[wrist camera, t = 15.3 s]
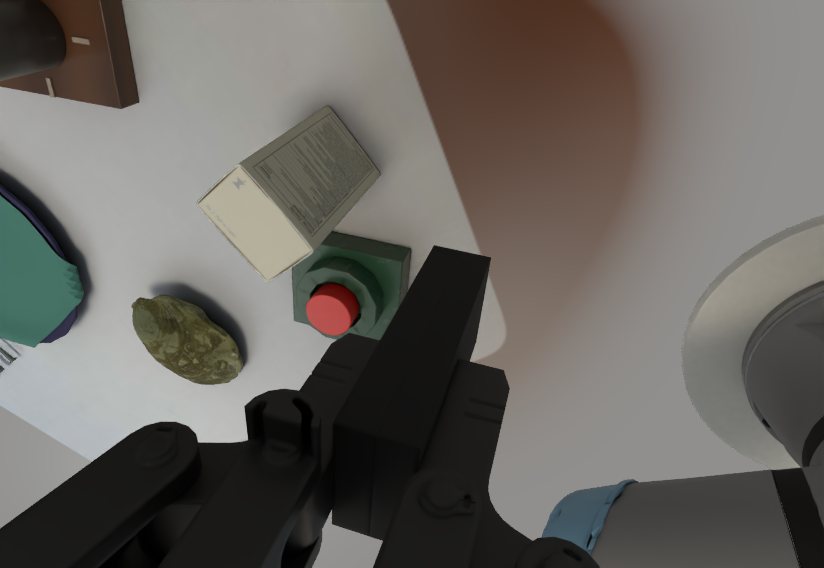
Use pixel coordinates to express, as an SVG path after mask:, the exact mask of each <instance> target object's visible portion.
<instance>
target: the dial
mask: <svg viewBox="0 0 824 568" xmlns="http://www.w3.org/2000/svg"><path fill="white" fill-rule="evenodd" d="M65 51H66V45H65V38H64V34H63V31H62V29H61V27H60V25H59V23H58V21H57V19H56V18H55V16H54V15H53V14H52V12H51V11H50V10H49V9H48V8H47V7H46V6H45V5H43V4H42V3H41V2H39V1H37V0H0V81H3V80H7V79H11V78H15V77H19V76H24V75H28V74H32V73H36V72H40V71H44V70H48V69H52V68H55V67H57V66H58V65H60V64H61V62H62V61H63V59H64V56H65Z"/></svg>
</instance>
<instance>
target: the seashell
mask: <svg viewBox="0 0 824 568" xmlns="http://www.w3.org/2000/svg"><path fill="white" fill-rule="evenodd" d="M132 308H133V325H134V328H135V331H136V333H137V335H138V337H139V338H140V340H141V341H142V343H143V344H144V345H145V347H146V349H147V350H148V351H149V353H150V354H151V355H152V356H153V357H154V358H155V359H156V360H157V361H158V362H159V363H161V364H162V365H163V366H165V367H166V368H168V369H169V370H171V371H172V372H174V373H176V374H177V375H179V376H181V377H183V378H185V379H188V380H190V381H192V382H194V383H198V384H206V385H207V384H208V385H214V384H220V383H228V382H230V381H231V380H232V379H234V378H235V377H237V376H238V373H239V372H240V370H241V369H243V361H242V356H241V355H240V354H239V351H238V350H239V348H238V346H237V344H236V342H235V341H234V340H233V339H232V338H231V337H230V336H229V335H228V334H227V333H226V332H225V331H224V329H222V328H221V327H219V326H217V325H215V324H214V323H213V322H212V321H210V320H209V319H208V317H207V316H206V314H205V312H204V311H203V310H202V309H201V308H199V307H197V306H196V305H194V304H191V303H188V302H185V301H183V300H179V299H177V298H174V297H170V296H166V295H160V296H157V297H154V298H153V299H145V298H141V297H140V298H138V299H137V300H136V302H134V303H133V304H132Z"/></svg>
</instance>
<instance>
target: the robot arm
mask: <svg viewBox="0 0 824 568" xmlns="http://www.w3.org/2000/svg"><path fill="white" fill-rule="evenodd" d="M490 260H491V257H486V256H481V255H477V254H472V253H467V252H463V251H458V250H453V249H449V248H444V247H439V246H435V245H434V246H433V248H432V250H431V252H430V253H429V255H428V257H427V259H426V260H425V262H424V264H423V266H422V267H421V269H420V271H419V273H418V274H417V276H416V278H415V280H414V281H413V283H412V285H411V287H410V288H409V290H408V292H407V294H406V296H405V297H404V299H403V301H402V303H401V304H400V306H399V308H398V310H397V311H396V313H395V315H394V317H393V318H392V320H391V322H390V324H389V325H388V327H387V329H386V331H385V332H384V334H383V336H382V338H381V339H380V340H376V339H372V338H369V337H365V336H361V335H357V334H353V333H348V334H346V335H344V336H343V337H341V338H340V339H338V340H337V341H335V342H333V343H332V344H331V345H330V347H329V348H328V349H327V351H326V352H325V354H324V355H323V357H322V358H321V361H320V362H319V363H318V364H317V366H316V367H315V369H314V370H313V371H312V375H310V376H309V377H308V379H307V380H306V382H305V383H304V385H303V386H302V388H301V389H300V390H299V391H297V390H289V389H279V390H272V391H268V392H265V393H263V394H261V395H259V396H256V397H255V398H253V399H252V400H251V401H250V402H249V403H248V404H247V405H246V406H245V415H246V424H247V433H248V440H247V441H243V442H235V443H198V441H197V436H196V434H195V433H194V432H193V431H192V430H191V429H190V428H189V427H188V426H186V425H183V424H180V423H177V422H158V423H154V424H150V425H147V426H144V427H142V428H140V429H139V430H137V431H135V432H133V433H131V434H130V435H128V436H127V437H126V438H124V439H123V440H122V441H120V442H119V443H117V444H116V445H115V446H113V447H112V448H111V449H109V450H108V451H106V452H105V453H104V454H102V455H101V456H100V457H98V458H97V459H95V460H94V461H93V462H91V463H90V464H89V465H87V466H86V467H84V468H83V469H82V470H80V471H79V472H78V473H76V474H75V475H73V476H72V477H71V478H69V479H68V480H67V481H65V482H64V483H62V484H61V485H60V486H58V487H57V488H56V489H54V490H53V491H51V492H50V493H49V494H47V495H46V496H44V497H43V498H42V499H40V500H39V501H38V502H36V503H35V504H33V505H32V506H31V507H29V508H28V509H27V510H25V511H24V512H22V513H21V514H20V515H18V516H17V517H16V518H14V519H13V520H11V521H10V522H9V523H7V524H6V525H5V526H3V527H2V528H1V529H0V568H312V566H313V564H314V562H315V560H316V557H317V555H318V553H319V551H320V547H321V542H322V528H323V526H324V524H325V522H326V520H327V518H328V516H329V513H330V512H331V510H332V524H333V525H336V526H339V527H342V528H345V529H348V530H352V531H355V532H358V533H361V534H364V535H367V536H370V537H373V538H376V539H379V540H382V541H383V543H382V545H381V548H380V551H379V554H378V556H377V559H376V561H375V564H374V566H373V568H824V280H823V281H820V282H818V283H816V284H813V285H811V286H809V287H806V288H805V289H803V290H801V291H799V292H797V293H795V294H794V295H792V296H790V297H789V298H787V299H786V300H784V301H783V302H781V303H780V304H779V305H778V306H776V307H775V308H774V309H773V310H772V311H770V312H769V313H768V314H767V315H766V316H765V317H764V318H763V320H762V321H761V322H760V323H759V324H758V326H757V327H756V328H755V330H754V331H753V333H752V334H751V336H750V338H749V340H748V342H747V344H746V347H745V350H744V353H743V358H742V379H743V383H744V387H745V390H746V394H747V397H748V401H749V403H750V406H751V408H752V410H753V412H754V413H755V415H756V417H757V418H758V419H759V421H760V422H761V424H762V425H763V426H764V427H765V429H766V430H767V431H768V432H769V433H770V434H771V435H772V436H773V437H774V438H775V439H776V440H777V441H779V442H780V443H781V444H783V445H784V447H785V449H786V451H787V452H788V453H789V455H790V456H791V457H792V458H793V460H794V461H795V462H796V463H797V464H798V465H799V466H800V467H801V468H790V469H780V470H763V471H754V472H744V473H735V474H725V475H716V476H706V477H697V478H687V479H675V480H663V481H651V482H640V483H639V482H637V481H635V480H634V479H631V480H624V481H622V482H620V483H619V484H617V485H610V486H604V487H597V488H590V489H584V490H579V491H575V492H573V493H571V494H569V495H567V496H566V497H564V498H563V499H562V500H561V501H560V502H559V503H558V504H557V505H556V507H555V508H554V510H553V511H552V513H551V514H550V517H549V520H548V522H547V525H546V527H545V529H544V531H543V534H542V538H537V539H536V540H534V541H532V540H530V539H529V538H527V537H526V536H524V535H523V534H521V533H520V532H518V531H517V530H515V529H514V528H512V527H511V526H510V525H509V524H507V523H506V522H505V521H504V520H503V519H502V518H501V517H500V516H499V514H498V513H497V512H496V511H495V509H494V507H493V505H492V503H491V501H490V496H489V492H488V485H489V477H490V473H491V468H492V464H493V460H494V455H495V451H496V446H497V442H498V438H499V433H500V429H501V424H502V420H503V415H504V411H505V407H506V402H507V398H508V393H509V389H510V388H509V385H508V382H507V379H506V376H505V373H504V370H501V369H497V368H493V367H489V366H485V365H481V364H477V363H473V362H469V361H470V358H471V355H472V352H473V349H474V346H475V343H476V339H477V334H478V328H479V322H480V317H481V311H482V306H483V300H484V294H485V289H486V283H487V278H488V272H489V266H490ZM778 493H779V494H778ZM779 496H780V497H779ZM781 503H782V504H781ZM782 506H783V507H782ZM783 509H784V510H783ZM784 513H785V514H784ZM785 516H786V517H785ZM786 519H787V520H786ZM787 522H788V524H787ZM788 525H789V527H788ZM789 529H790V530H789ZM790 532H791V534H790ZM791 535H792V537H791ZM792 539H793V540H792ZM793 542H794V544H793ZM794 546H795V547H794ZM795 549H796V550H795ZM796 552H797V554H796ZM797 556H798V557H797ZM798 559H799V560H798ZM799 563H800V564H799ZM800 566H801V567H800Z"/></svg>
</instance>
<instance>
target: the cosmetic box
mask: <svg viewBox="0 0 824 568" xmlns="http://www.w3.org/2000/svg"><path fill="white" fill-rule="evenodd" d="M379 176H380V173H379V171H378V170H377V168H376V167H375V166H374V164H373V163H372V162H371V160H370V159H369V157H368V156H367V155H366V154H365V152H364V151H363V149H362V148H361V147H360V146H359V144H358V143H357V142H356V140H355V139H354V138H353V136H352V135H351V134H350V132H349V131H348V130H347V129H346V127H345V126H344V125H343V123H342V122H341V121H340V120H339V118H338V117H337V116H336V115H335V113H334V112H333V111H332V110H331V109H330V107H329V106H325V107H324V108H322V109H321V110H319V111H318V112H316V113H315V114H313V115H312V116H310V117H309V118H307V119H306V120H304V121H303V122H301V123H299V124H298V125H296V126H295V127H293V128H292V129H290V130H289V131H287V132H286V133H284V134H283V135H281V136H280V137H278V138H277V139H275V140H274V141H272V142H271V143H269V144H268V145H266V146H264V147H263V148H261V149H260V150H258V151H257V152H255V153H254V154H252V155H251V156H249V157H248V158H246V159H245V160H243V161H242V162H240V163H239V164H237V165H236V166H235V167H234V168H233V169H232V170H230V171H229V172H228V173H227V174H226V175H225V176H223V177H222V178H221V179H220V180H219V181H218V182H217V183H216V184H214V185H213V186H212V187H211V188H210V189H209V190H208V191H207V192H206V193H205V194H204V195H203V196H202V197H201V198H200V199H199V200H198V201H197V203H196V204H197V206H198V207H199V209H200V210H201V211H202V212H203V213H204V214H205V215H206V217H207V218H208V219H209V220H210V221H211V223H212V224H213V225H214V226H215V227H216V228H217V229H218V230H219V231H220V232H221V233H222V235H223V236H224V237H225V238H226V239H227V240H228V241H229V243H230V244H231V245H232V246H233V247H234V248H235V249H236V250H237V251H238V252H239V253H240V254H241V256H242V257H243V258H244V259H245V260H246V261H247V262H248V263H249V264H250V265H251V266H252V267H253V269H254V270H255V271H256V272H257V273H258V274H259V275H260V276H261V277H262V278H263V279H264V280H265V281H266V282H270V281H271V280H273V279H274V278H276V277H278V276H279V275H281V274H282V273H284V272H286V271H287V270H289V269H290V268H292V267H293V266H295V265H296V264H298V263H299V262H301V261H302V260H304V259H305V258H307V257H308V256H310V255H311V254H312V253H313V252H314V251H315V250H316V249H317V248H318V246H319V245H320V244H321V243H322V242H323V241H324V239H325V238H326V237H327V236H328V235H329V234H330V232H331V231H332V230H333V229H334V228H335V227H336V226H337V224H338V223H339V222H340V221H341V220H342V219H343V218H344V216H345V215H346V214H347V213H348V212H349V211H350V210H351V208H352V207H353V206H354V205H355V204H356V203H357V201H358V200H359V199H360V198H361V197H362V196H363V195H364V193H365V192H366V191H367V190H368V189H369V188H370V187H371V185H372V184H373V183H374V182H375V181H376V180H377V178H378V177H379Z"/></svg>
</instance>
